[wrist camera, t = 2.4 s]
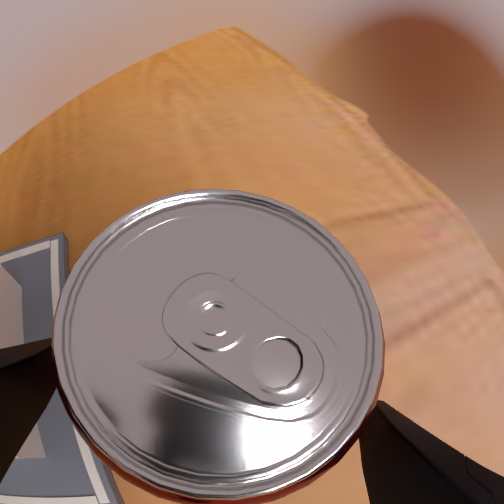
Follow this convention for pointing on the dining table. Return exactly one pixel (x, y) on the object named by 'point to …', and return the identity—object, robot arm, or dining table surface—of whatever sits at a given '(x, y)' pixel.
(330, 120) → the dining table surface
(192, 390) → the soda can
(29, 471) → the base
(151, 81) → the dining table surface
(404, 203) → the dining table surface
